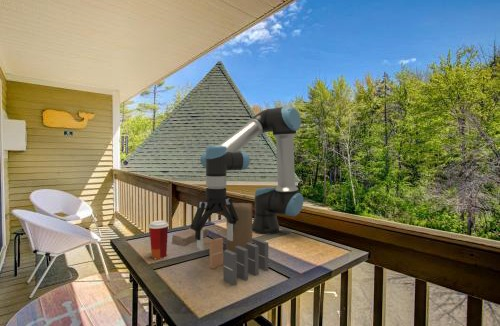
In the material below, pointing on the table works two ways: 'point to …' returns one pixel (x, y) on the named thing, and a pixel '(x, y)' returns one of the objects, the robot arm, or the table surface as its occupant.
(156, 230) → the paper cup
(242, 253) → the domino
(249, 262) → the domino
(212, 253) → the head domino
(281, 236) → the table surface
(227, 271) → the domino
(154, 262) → the table surface
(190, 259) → the table surface
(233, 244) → the wooden block
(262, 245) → the domino
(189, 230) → the brick
